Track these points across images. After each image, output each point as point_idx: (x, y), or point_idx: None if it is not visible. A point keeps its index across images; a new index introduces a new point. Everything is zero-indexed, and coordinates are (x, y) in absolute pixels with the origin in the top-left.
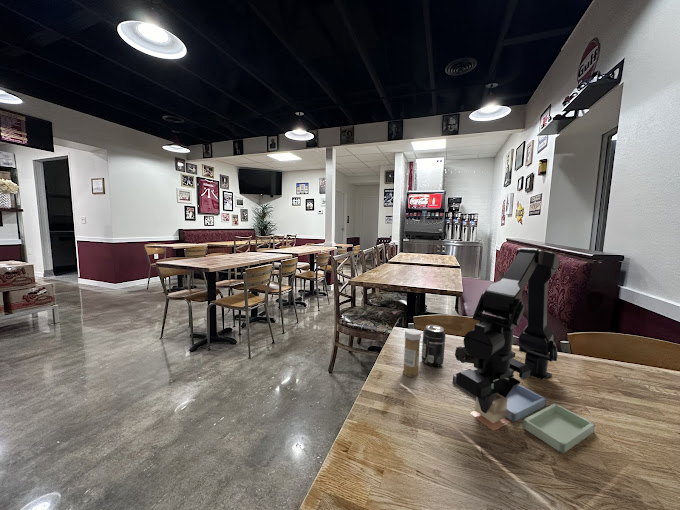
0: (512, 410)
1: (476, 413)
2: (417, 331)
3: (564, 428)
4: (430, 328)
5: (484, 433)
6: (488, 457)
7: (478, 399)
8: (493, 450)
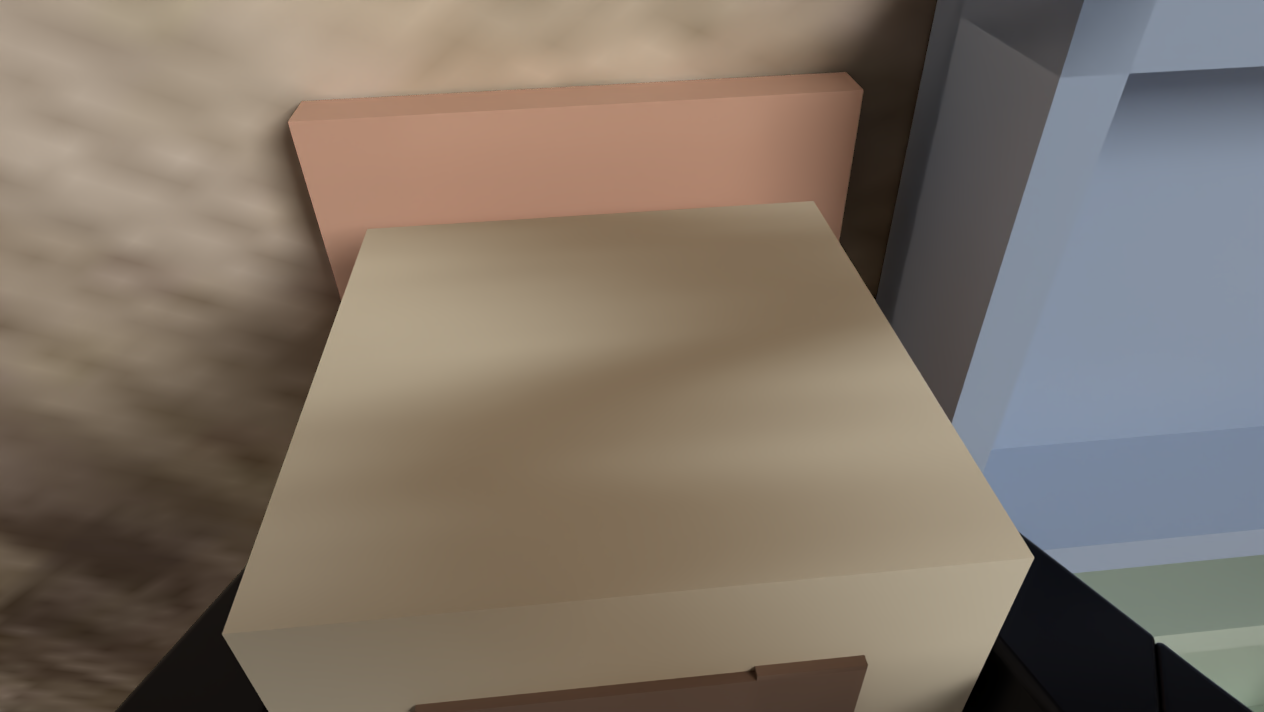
0: (1134, 344)
1: (445, 181)
2: None
3: (1193, 653)
4: None
5: (273, 455)
6: (59, 653)
7: (142, 700)
8: (191, 618)
